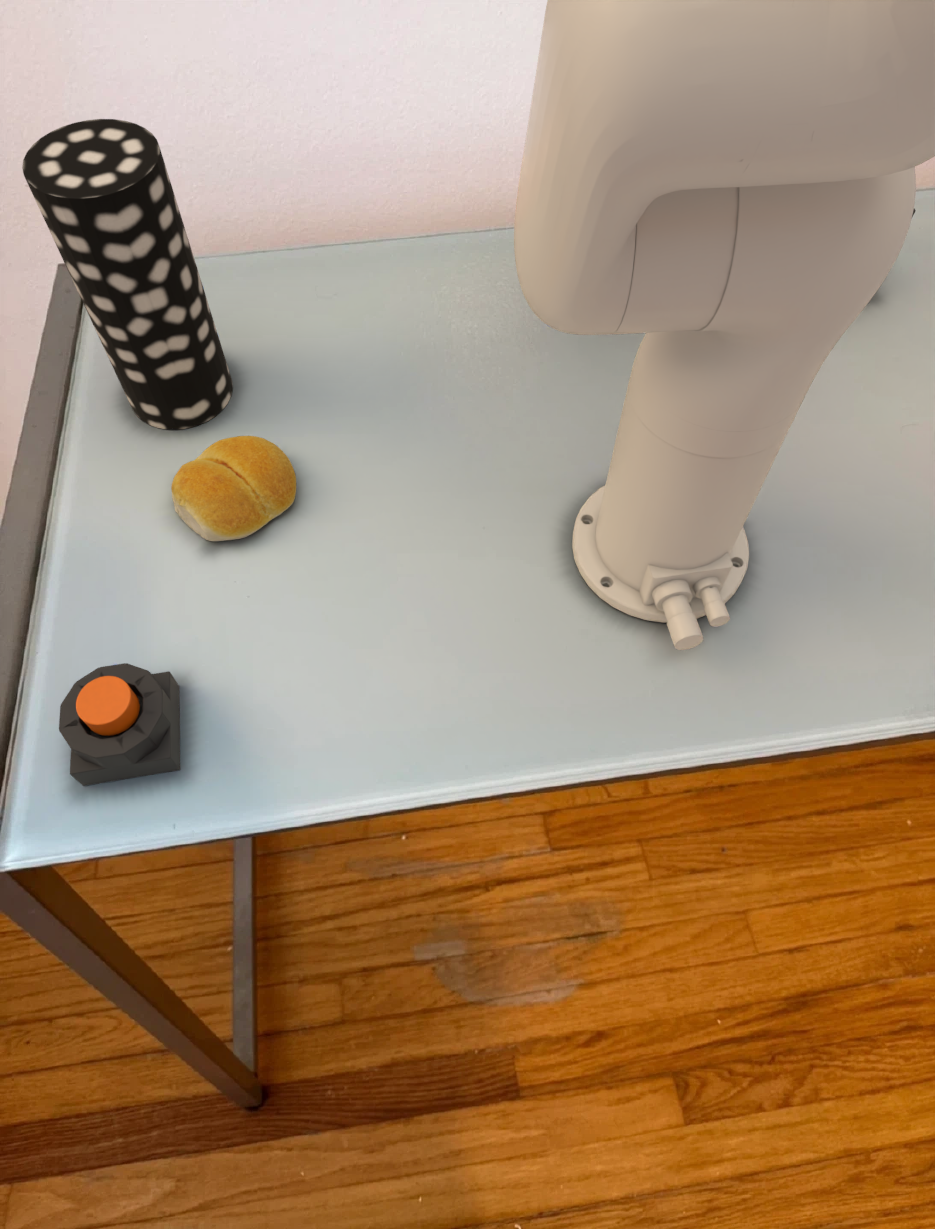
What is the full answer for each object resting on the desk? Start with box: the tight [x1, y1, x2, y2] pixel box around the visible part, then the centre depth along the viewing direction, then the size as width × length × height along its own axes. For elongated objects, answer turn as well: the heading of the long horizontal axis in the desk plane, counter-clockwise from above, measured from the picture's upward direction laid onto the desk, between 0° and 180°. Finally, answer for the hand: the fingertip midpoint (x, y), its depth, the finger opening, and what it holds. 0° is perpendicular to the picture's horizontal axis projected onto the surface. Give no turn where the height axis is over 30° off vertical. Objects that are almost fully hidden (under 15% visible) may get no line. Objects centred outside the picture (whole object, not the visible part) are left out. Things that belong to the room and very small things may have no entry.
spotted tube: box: [21, 118, 234, 431], centre depth 62 cm, size 8×8×20 cm
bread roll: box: [170, 435, 297, 542], centre depth 64 cm, size 8×9×4 cm
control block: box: [58, 662, 181, 787], centre depth 54 cm, size 6×6×4 cm
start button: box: [76, 676, 140, 736], centre depth 52 cm, size 3×3×2 cm
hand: (604, 248), depth 73 cm, fingers closed
